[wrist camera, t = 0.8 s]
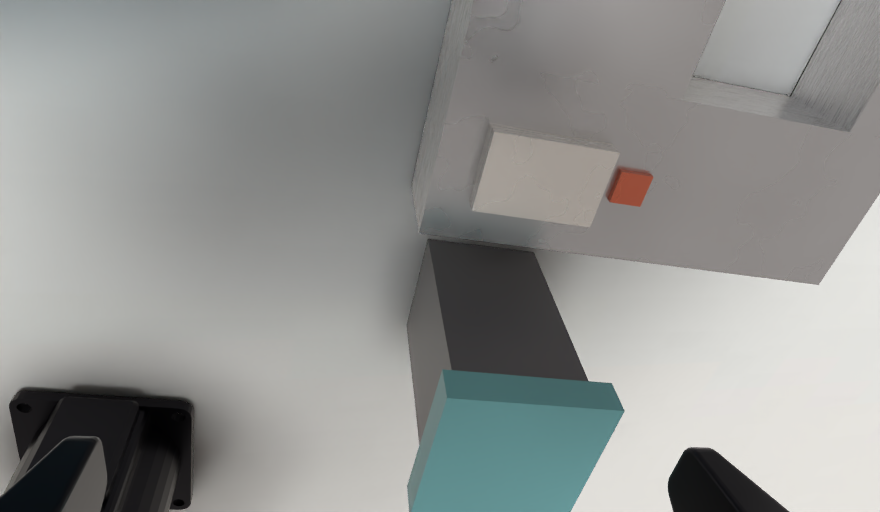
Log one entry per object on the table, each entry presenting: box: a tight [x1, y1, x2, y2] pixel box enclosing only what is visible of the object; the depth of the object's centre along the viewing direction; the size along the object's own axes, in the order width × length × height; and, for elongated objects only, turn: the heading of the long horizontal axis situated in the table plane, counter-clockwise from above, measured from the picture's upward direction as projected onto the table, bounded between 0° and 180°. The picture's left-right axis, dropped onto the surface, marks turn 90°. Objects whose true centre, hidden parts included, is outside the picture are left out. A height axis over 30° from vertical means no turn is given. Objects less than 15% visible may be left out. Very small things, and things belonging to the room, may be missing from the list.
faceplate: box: [411, 0, 880, 285], centre depth 17 cm, size 14×14×4 cm
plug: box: [407, 239, 624, 512], centre depth 21 cm, size 5×5×8 cm
